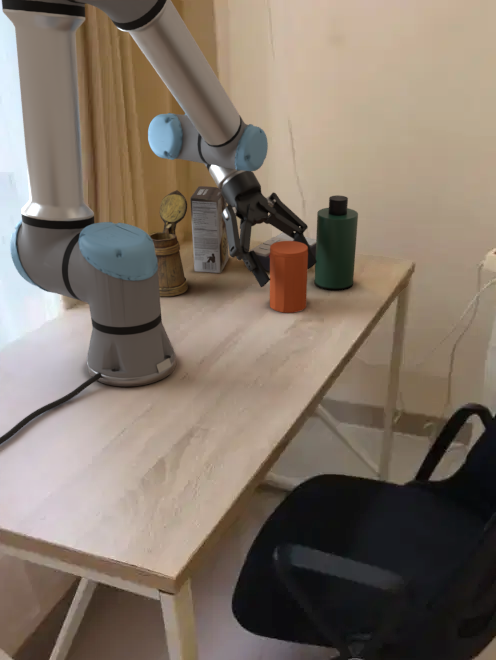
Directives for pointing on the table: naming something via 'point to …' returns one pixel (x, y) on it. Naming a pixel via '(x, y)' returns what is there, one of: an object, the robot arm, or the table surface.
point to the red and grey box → (264, 249)
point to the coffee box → (209, 230)
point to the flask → (335, 245)
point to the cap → (288, 276)
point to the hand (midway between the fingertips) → (289, 274)
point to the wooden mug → (170, 246)
